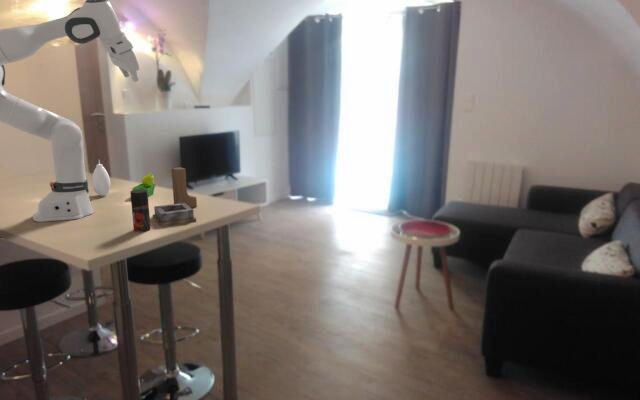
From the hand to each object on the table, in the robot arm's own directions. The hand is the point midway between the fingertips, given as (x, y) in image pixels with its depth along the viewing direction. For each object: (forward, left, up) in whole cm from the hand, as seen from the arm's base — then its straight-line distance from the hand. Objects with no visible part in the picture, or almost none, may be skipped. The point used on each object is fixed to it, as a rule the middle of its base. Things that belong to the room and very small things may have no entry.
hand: (131, 78), depth 182 cm
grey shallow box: (+10, -11, -55) cm, 57 cm away
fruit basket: (+8, +35, -56) cm, 66 cm away
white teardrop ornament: (-10, +46, -55) cm, 73 cm away
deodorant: (-4, -19, -55) cm, 59 cm away
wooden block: (+19, +5, -55) cm, 59 cm away
